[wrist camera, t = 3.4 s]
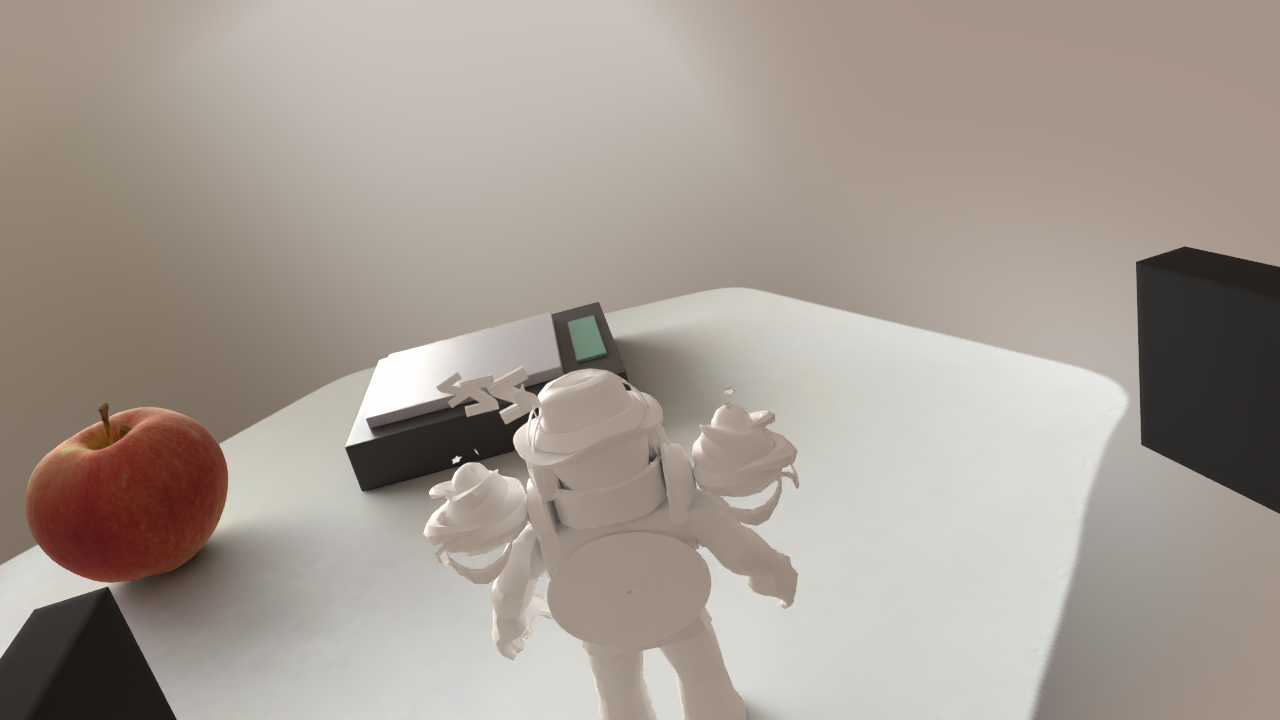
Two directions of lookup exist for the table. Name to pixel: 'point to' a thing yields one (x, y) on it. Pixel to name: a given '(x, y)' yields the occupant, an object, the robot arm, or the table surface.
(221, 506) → the apple
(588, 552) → the hat wearing toy figure
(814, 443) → the table surface
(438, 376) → the scale
